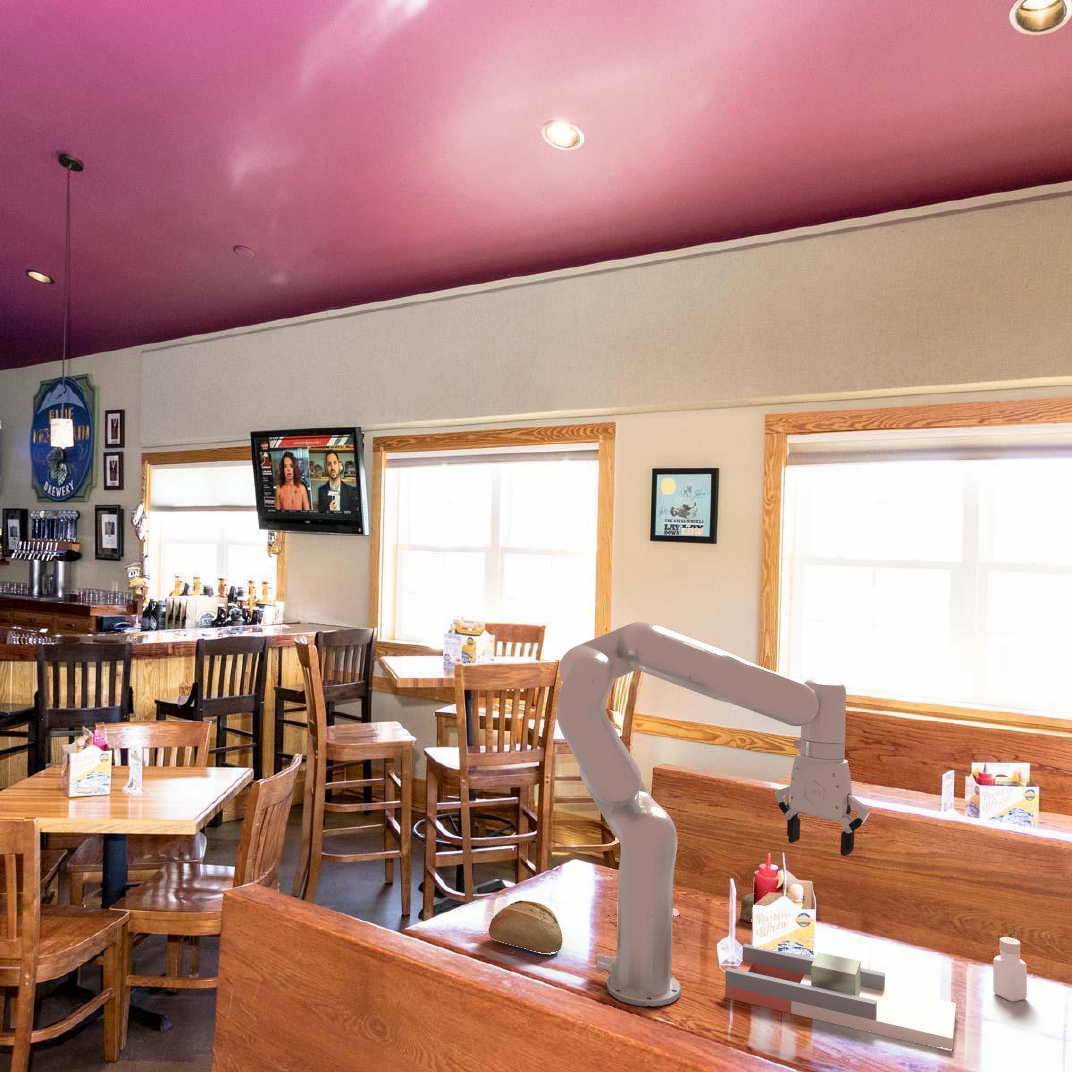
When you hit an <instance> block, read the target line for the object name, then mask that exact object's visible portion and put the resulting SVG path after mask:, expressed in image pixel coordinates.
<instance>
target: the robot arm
mask: <svg viewBox="0 0 1072 1072" xmlns="http://www.w3.org/2000/svg"><path fill="white" fill-rule="evenodd" d="M558 671H559V676H560V680H561V681H562V683H561V686H560V689H559V691H558V696H557V700H556V701H557V702H556V717H557V718H556V719H557V723H558V726H559V729H560V731H561V734H562V736H563V738H564V740H565V742H566V744H567V746H568V748H569V749H570V751H571V754H572V755H573V758H574V760H575V761H576V763H577V765H578V766H579V775H580V778H581V781H582V783H583V785H584V786H585V788H586V790H587V791H588V793H589V796H590V797H591V798H592V800H593V801H594V803H595V805H596V808H597V809H598V811H599V812H600V814H601V815H602V817H603V818H604V820H605V822H606V824H607V825H608V827H609V829H610V830H611V832H612V833H613V835H614V836H615V838H616V839H617V841H618V842H619V843H620V860H619V865H618V873H617V891H616V893H617V895H616V897H617V901H616V903H617V927H616V952H615V953H616V955H615V954H614V955H613V956H611V955H608V954H604V953H599V952H598V953H596V955H595V958H594V959H595V960H594V963H595V966H596V968H595V969H596V970H597V971H599V972H606V973H608V974H609V976H608V977H607V979H606V990H607V989H608V990H607V992H608V991H609V992H608V993H609V994H610V995H611V996H612V997H613V998H615V1000H618V1001H620V1002H623V1003H625V1004H629V1005H633V1006H638V1007H647V1006H651V1007H661V1006H665V1005H670V1004H672V1003H674V1002H675V1001H676V1000H678V999H679V997H680V995H681V993H682V992H681V987H682V986H681V984H680V982H679V980H677V978H675V977H674V976H673V974H672V972H673V967H672V966H673V926H674V925H673V923H674V922H673V921H674V920H673V908H674V877H675V874H674V873H675V865H676V858H677V851H678V833H677V832H678V831H677V828H676V826H675V823H674V821H673V819H672V818H671V815H669V813H668V812H667V811H666V810H665V809H664V808H663V807H662V806H661V805H660V804H659V803H657V801H655V800H654V798H653V796H652V794H650V792H649V791H648V789H647V786H645V784H644V782H643V780H642V774H641V770H640V768H639V767H640V766H638V764H637V762H636V760H635V758H634V757H633V756H632V755H631V753H630V752H629V751H628V749H627V747H626V745H625V743H624V742H623V740H622V739H621V738H620V735H619V733H618V732H617V730H616V728H615V726H614V725H613V722H612V720H611V719H610V717H609V714H608V711H607V701H608V698H609V695H610V692H611V691H612V689H613V687H614V684H615V681H616V680H617V679H620V678H622V677H624V676H627V675H629V674H631V673H633V672H635V671H640V672H642V673H644V674H647V675H650V676H652V677H655V678H658V679H660V680H663V681H666V682H668V683H671V684H674V685H676V686H680V687H682V688H684V689H686V690H690V691H692V692H695V693H698V694H700V695H702V696H705V697H707V698H711V699H713V700H716V701H719V702H723V703H724V702H725V703H728V704H732V705H735V706H738V707H741V708H743V709H747V710H748V711H749V710H750V711H751V712H754V713H758V714H759V715H762V716H765V717H767V718H771V719H773V720H775V721H778V722H781V723H783V724H785V725H788V726H791V727H792V726H793V727H800V737H799V738H798V739H794V740H793V747H795V748H798V749H799V754H795V756H794V760H793V764H792V769H791V774H790V782H789V786H786V787H783V788H781V789H778V790H775V791H774V793H773V794H774V796H775V799H776V801H777V803H778V807H779V809H780V811H781V812H782V814H784V818H785V819H786V820H787V822H786V823H787V824H786V836H787V837H788V843H789V844H793V843H796V842H798V841H799V840H800V839H801V838H800V836H801V819H800V817H799V814H801V815H802V814H803V815H806V816H810V817H811V816H812V817H815V818H821V819H825V820H831V821H837V822H838V823H839V824H840V826H841V827H842V829H843V831H842V832H841V833H840V855H841V856H842V857H846V856H848V855H851V854H852V852H853V851H854V850H855V849H854V848H855V831H857V830H858V829H859V828H861V826H863V825H864V824H865V823H866V820H867V819H868V817H869V816H870V814H871V809H870V808H869V807H868V806H866V805H865V804H863V802H861V801H859V800H858V799H857V798H855V796H853V794H852V793H853V792H852V791H853V790H852V788H853V787H852V779H851V770H850V766H849V762H848V760H847V759H845V751H846V750H845V748H846V747H845V746H846V742H845V741H846V712H847V711H846V709H847V689H846V686H845V685H844V684H843V683H841V682H839V681H836V680H829V679H809V680H803V679H802V680H801V679H795V678H794V679H793V678H790V677H787V676H785V675H782V674H780V673H778V672H774V671H772V670H769V669H768V668H764V667H761V666H759V665H757V664H754V663H752V662H749V661H746V660H744V659H742V658H740V657H738V656H737V655H734V654H731V653H729V652H727V651H725V650H722V649H720V648H718V647H715V646H712V645H709V644H706V643H704V642H701V641H698V640H696V639H693V638H691V637H688V636H686V635H684V634H683V635H682V634H681V633H677V632H675V631H672V630H670V629H667V628H664V627H662V626H659V625H656V624H653V623H652V624H651V623H648V622H644V621H643V622H642V621H639V622H638V621H637V622H636V621H635V622H631V623H628V624H626V625H624V626H622V627H618V628H617V629H614V630H612V631H610V632H607V633H605V634H603V635H601V636H598V637H595V638H592V639H590V640H587V641H585V642H583V643H580V644H578V645H576V646H573V647H572V648H570V649H569V650H568V651H566V653H564V655H563V656H562V658H561V660H560V664H559V667H558ZM787 795H788V801H787V798H786V796H787ZM852 809H854V810H856V811H857V813H858V814H857V816H856V818H855V819H853V818H852V816H851V814H852Z"/></svg>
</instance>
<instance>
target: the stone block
mask: <svg viewBox="0 0 1072 1072" xmlns="http://www.w3.org/2000/svg"><path fill="white" fill-rule="evenodd" d="M754 894H755V893H750V892H749V893H747V894H746V895H745V896H743V898H742V899H741V903H740V904H741V905H740V913H739V919H741V920H743V921H744V920H746V921H749V922H748V923H750V922H751V919H752V907H753V903H754ZM746 921H745V922H746Z"/></svg>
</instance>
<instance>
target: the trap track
mask: <svg viewBox="0 0 1072 1072" xmlns="http://www.w3.org/2000/svg"><path fill="white" fill-rule="evenodd" d="M754 946H755V945H754ZM754 946H753V944H749V943H744V944H743V945H742V956H741V957H742V960H743V961H742V960H741V962H740V963H739V965H738V966H737V968H732V967H727V968H726V969H725V987H724V989H725V990H724V996H725V997H726V998H725V997H724V998H725V999H729V998H730V999H729V1000H734V1001H738V1002H742V1003H746V1004H749V1005H750V1004H751V1005H754V1006H759V1007H762V1008H766V1009H771V1010H775V1011H780V1012H784V1013H788V1014H792V1015H796V1016H801V1017H804V1018H809V1019H813V1020H818V1021H821V1022H826V1023H831V1024H834V1025H838V1026H842V1027H847V1028H851V1029H855V1030H858V1031H862V1030H863V1031H862V1032H867V1031H870V1032H869V1033H871V1032H873V1033H872V1034H875V1033H878V1034H877V1035H879V1034H881V1035H880V1036H883V1035H885V1036H884V1037H888V1038H893V1039H897V1040H901V1041H905V1042H909V1043H914V1044H917V1043H919V1044H918V1045H921V1044H924V1045H923V1046H925V1045H930V1046H934V1047H943V1048H948V1049H953V1050H954V1041H953V1039H955V1031H954V1030H956V1021H955V1020H957V1019H956V1017H957V1003H956V1002H952V1001H949V1000H947V1001H946V1000H942V999H939V998H938V999H937V998H934V997H929V996H925V995H920V994H915V993H910V992H906V991H901V990H896V989H891V988H887V987H886V984H885V983H886V973H885V972H883V971H878V970H873V969H868V968H863V967H861V971H860V994H859V996H854V995H850V994H845V993H841V992H836V991H832V990H828V989H823V988H819V987H814V986H811V965H812V963H813V961H814V959H815V957H811V956H805V955H801V954H796V953H791V952H787V953H786V951H783V952H778V951H779V950H778V951H770V950H765V949H759V948H754ZM934 1047H933V1048H934Z"/></svg>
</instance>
